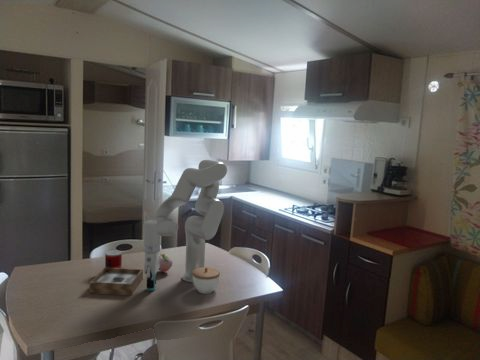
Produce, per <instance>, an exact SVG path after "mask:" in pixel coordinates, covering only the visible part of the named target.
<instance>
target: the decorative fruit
mask: <svg viewBox="0 0 480 360" xmlns="http://www.w3.org/2000/svg"><path fill="white" fill-rule="evenodd" d="M159 262H160V267H159V269H158V271H160V272H162V273H165V272H168V271H169V270H170V269H171V268H172V266H173V260H172V258H171V257H169V256H168V255H166V254H165V253H161V254H160V253H159Z"/></svg>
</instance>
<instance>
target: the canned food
mask: <svg viewBox="0 0 480 360" xmlns="http://www.w3.org/2000/svg"><path fill="white" fill-rule="evenodd" d="M104 255H105V257H104V258H105V262H104V265H105V266H104V268H105V267H108V268H122V265H123V264H122V257H123V254H122V251H121V250H116V249H112V250H111V249H110V250H107V251H106V252H105V254H104Z"/></svg>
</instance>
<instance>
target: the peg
mask: <svg viewBox="0 0 480 360" xmlns="http://www.w3.org/2000/svg"><path fill="white" fill-rule="evenodd" d="M150 273H152V272H150ZM150 276H151V277H152V275H150ZM153 280H154V288H147V287H146V290H147V291H148V292H153V291H156V284H155V274H153Z"/></svg>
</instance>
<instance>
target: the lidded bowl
mask: <svg viewBox="0 0 480 360" xmlns="http://www.w3.org/2000/svg"><path fill="white" fill-rule="evenodd" d="M192 275H193V282H192V284H193V286H194V288H195V289H196V290H197V292H198V293H200V294H204V295H205V294H206V295H207V294H212V293H213V291H214V290H215V289H216V288H217V287H218V285H219V280H220V270H218V269H217V268H215V267H209V266H204V267H200V268H196V269H194V270H193V272H192Z"/></svg>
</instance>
